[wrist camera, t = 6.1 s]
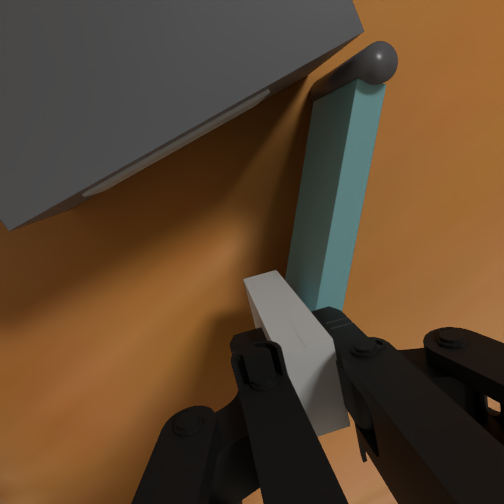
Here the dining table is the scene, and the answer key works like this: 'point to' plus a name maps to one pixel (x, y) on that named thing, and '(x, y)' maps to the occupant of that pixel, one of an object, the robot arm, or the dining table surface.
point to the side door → (336, 174)
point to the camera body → (138, 84)
